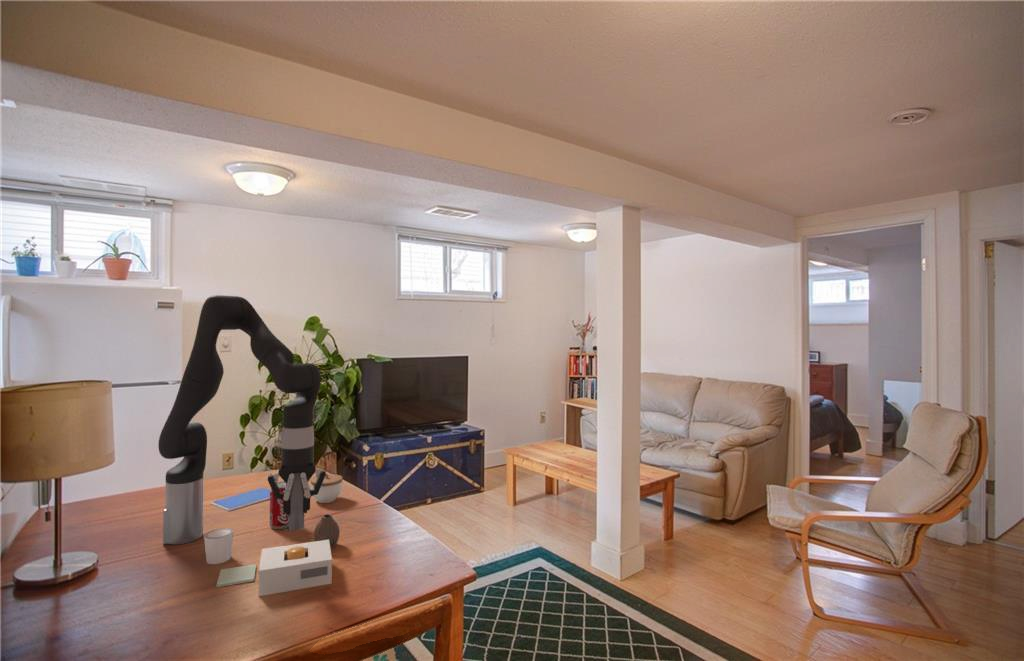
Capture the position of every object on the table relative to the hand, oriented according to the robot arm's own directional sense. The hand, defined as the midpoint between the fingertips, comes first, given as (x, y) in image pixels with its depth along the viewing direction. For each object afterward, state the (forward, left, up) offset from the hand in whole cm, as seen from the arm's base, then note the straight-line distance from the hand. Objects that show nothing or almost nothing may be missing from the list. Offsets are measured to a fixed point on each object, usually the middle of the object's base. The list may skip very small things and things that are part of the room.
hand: (296, 512), depth 125 cm
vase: (+8, +16, -17) cm, 24 cm away
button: (0, 0, -14) cm, 14 cm away
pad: (-14, +6, -16) cm, 22 cm away
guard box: (0, 0, -16) cm, 16 cm away
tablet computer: (-16, +65, -17) cm, 69 cm away
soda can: (-4, +36, -17) cm, 40 cm away
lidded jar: (+10, +55, -17) cm, 58 cm away
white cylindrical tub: (-19, +18, -17) cm, 31 cm away
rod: (0, 0, -4) cm, 4 cm away
